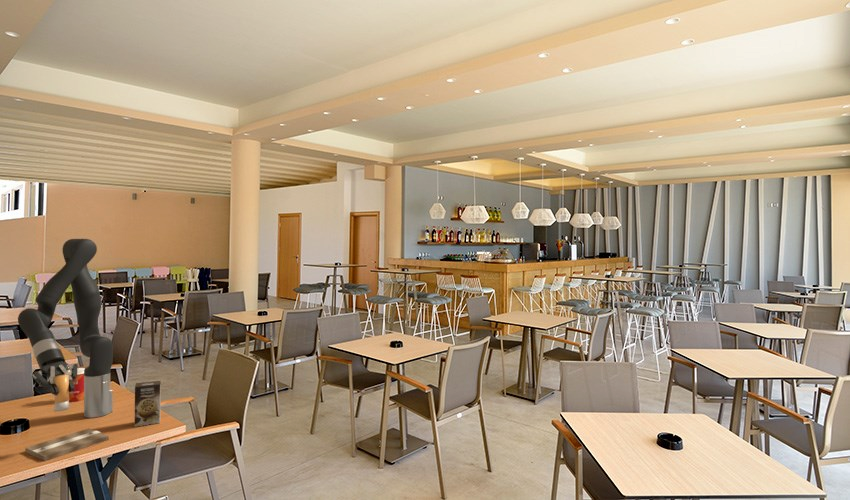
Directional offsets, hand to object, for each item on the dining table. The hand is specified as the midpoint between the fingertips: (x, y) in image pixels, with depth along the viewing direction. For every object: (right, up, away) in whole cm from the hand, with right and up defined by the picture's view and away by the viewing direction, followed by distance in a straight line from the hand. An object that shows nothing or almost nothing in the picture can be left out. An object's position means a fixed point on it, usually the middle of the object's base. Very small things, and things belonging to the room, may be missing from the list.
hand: (64, 392), depth 168 cm
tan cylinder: (-2, -7, +1) cm, 7 cm away
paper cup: (-33, -19, +51) cm, 64 cm away
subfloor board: (0, -20, +2) cm, 20 cm away
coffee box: (+16, -20, +24) cm, 35 cm away
